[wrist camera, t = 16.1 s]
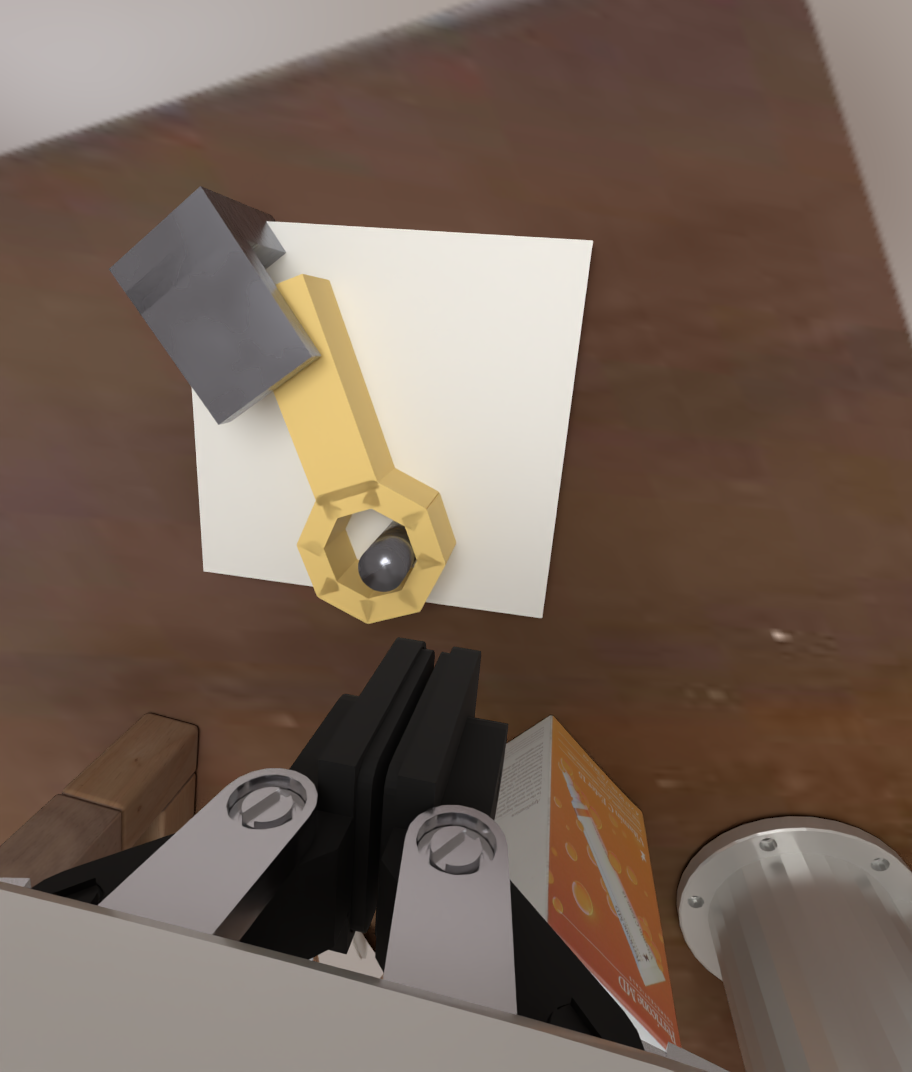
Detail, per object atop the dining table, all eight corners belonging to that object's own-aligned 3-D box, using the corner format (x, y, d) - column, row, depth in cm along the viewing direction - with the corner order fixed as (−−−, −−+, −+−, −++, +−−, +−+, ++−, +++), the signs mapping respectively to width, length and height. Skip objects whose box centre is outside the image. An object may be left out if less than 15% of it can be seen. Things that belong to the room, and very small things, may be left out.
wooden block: (201, 724, 37) (-95, 1044, 20) (194, 855, 41) (-61, 1219, 24) (145, 709, 38) (-190, 1012, 21) (144, 840, 41) (-143, 1189, 24)
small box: (644, 810, 34) (691, 1075, 22) (555, 858, 36) (553, 1125, 24) (552, 709, 33) (547, 927, 21) (465, 764, 35) (415, 993, 23)
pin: (433, 510, 31) (405, 550, 25) (431, 548, 31) (403, 594, 26) (395, 506, 31) (358, 544, 25) (393, 543, 32) (357, 588, 26)
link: (468, 577, 30) (458, 602, 27) (352, 605, 32) (331, 632, 29) (364, 266, 26) (340, 258, 24) (238, 315, 28) (202, 313, 25)
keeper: (193, 281, 29) (109, 269, 24) (271, 215, 27) (200, 186, 22) (279, 408, 30) (218, 424, 25) (358, 352, 29) (312, 356, 23)
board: (591, 244, 26) (592, 240, 25) (542, 608, 31) (541, 618, 30) (196, 220, 28) (180, 216, 27) (215, 563, 34) (203, 571, 32)
